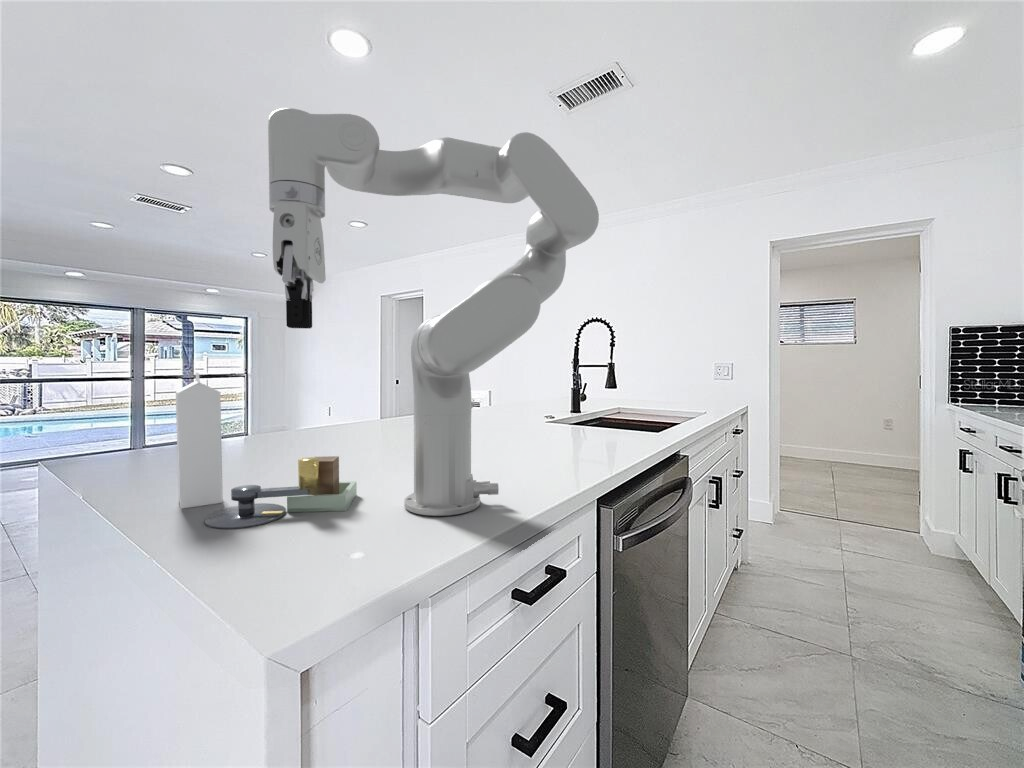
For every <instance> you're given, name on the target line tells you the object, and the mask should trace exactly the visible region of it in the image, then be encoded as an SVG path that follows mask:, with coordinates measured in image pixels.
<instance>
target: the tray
mask: <svg viewBox="0 0 1024 768" xmlns="http://www.w3.org/2000/svg"><path fill="white" fill-rule="evenodd" d="M356 496H358V494H357V481H355V480H354V481H339V494H328V495H298V496H286V512H287V513H305V512H306V513H308V512H309V513H311V512H339V511H340V512H343V511H347V509H348V508H349V507H350V505H351V504H352V502H353V501H354V499H355V498H356Z"/></svg>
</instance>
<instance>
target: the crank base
mask: <svg viewBox="0 0 1024 768" xmlns="http://www.w3.org/2000/svg"><path fill="white" fill-rule="evenodd" d="M237 503H238V504H237V505H235V506H230V507H226V508H222V509H219V510H217V511H213V512H212V513H210V514H208V515H207V516H206V517H205V518H204V524H205V526H207V527H210V528H212V529H219V528H220V529H223V530H224V529H225V530H230V529H231V530H233V529H236V530H237V529H245V528H252V527H257V526H262V525H265V524H268V523H272V522H275V521H276V520H277V521H278V520H279V519H281V518H283V517H284V516H285V515H286V514H287V513H286V512H287V507H285V506H284V505H280V504H276V503H265V502H263V503H255V499H253V500H248V501H237ZM220 529H219V530H220Z"/></svg>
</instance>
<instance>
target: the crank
mask: <svg viewBox="0 0 1024 768" xmlns="http://www.w3.org/2000/svg"><path fill="white" fill-rule="evenodd" d="M316 457H317V456H314V457H312V456H311V457H302V458H298V461H297V465H298V466H297V467H298V469H297V470H298V473H297V475H298V486H297V485H296V486H285V487H283V486H282V487H281V486H280V487H267V488H261V486H260V485H258V484H257V485H256V484H247V485H240V486H236V487H233V488H231V490H230V491H231V492H230V493H231V494H230V496H231V501H233V502H234V501H235V502H238V501H248V500H253V499H254V500H256V499H264V498H279V497H287V496H298V495H308V494H309V492H310V489H315V488H318V487H319V458H316Z"/></svg>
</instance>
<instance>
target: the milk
mask: <svg viewBox="0 0 1024 768" xmlns="http://www.w3.org/2000/svg"><path fill="white" fill-rule="evenodd" d="M221 403H222V402H221V392H220V391H219V390H217V389H215V388H213V387H211V386H209V385H206V384H204V383H203V382H201V381H200V372H197V371H196V372H195V381H192V382H190V383H189V384H186V385H185V386H183V387H181V388H179V389H177V390H176V391H175V412H176V416H175V417H176V419H175V420H176V445H177V447H176V450H177V451H176V452H177V481H178V484H177V485H178V486H177V487H178V489H177V490H178V502H179V506H180V509H182V510H183V509H188V508H195V507H196V508H197V507H203V506H210V505H215V504H223V502H224V500H223V499H224V498H223V497H224V493H223V492H224V491H223V453H222V452H223V451H222V449H223V448H222V447H223V446H222V444H223V443H222V442H223V441H222V411H221V409H222V408H221V407H222V406H221Z"/></svg>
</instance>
